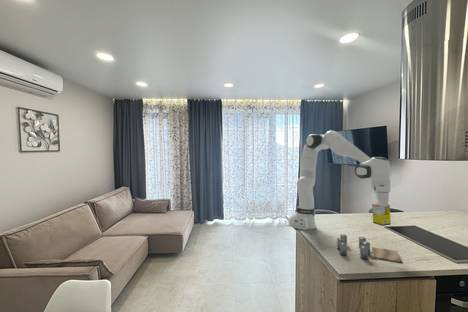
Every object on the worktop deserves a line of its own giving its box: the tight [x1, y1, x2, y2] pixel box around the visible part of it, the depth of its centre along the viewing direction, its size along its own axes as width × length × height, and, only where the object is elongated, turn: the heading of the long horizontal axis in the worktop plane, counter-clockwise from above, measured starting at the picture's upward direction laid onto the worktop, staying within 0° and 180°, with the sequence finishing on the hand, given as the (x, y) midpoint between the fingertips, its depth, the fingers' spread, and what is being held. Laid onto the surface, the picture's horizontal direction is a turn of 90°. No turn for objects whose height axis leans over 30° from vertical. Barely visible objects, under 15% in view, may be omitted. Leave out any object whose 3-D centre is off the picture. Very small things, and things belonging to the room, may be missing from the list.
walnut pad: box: [371, 246, 403, 264], centre depth 124 cm, size 12×14×1 cm
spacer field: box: [336, 233, 371, 261], centre depth 130 cm, size 17×18×6 cm
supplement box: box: [371, 202, 391, 227], centre depth 125 cm, size 6×6×11 cm
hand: (381, 211), depth 125 cm, fingers closed on supplement box, 8 cm apart
